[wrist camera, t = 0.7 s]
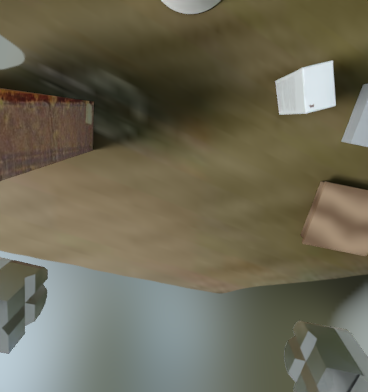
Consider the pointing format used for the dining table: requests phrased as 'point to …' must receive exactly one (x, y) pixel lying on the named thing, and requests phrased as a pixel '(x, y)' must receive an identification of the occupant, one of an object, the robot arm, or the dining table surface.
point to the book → (41, 130)
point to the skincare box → (307, 89)
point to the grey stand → (358, 121)
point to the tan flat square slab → (338, 219)
